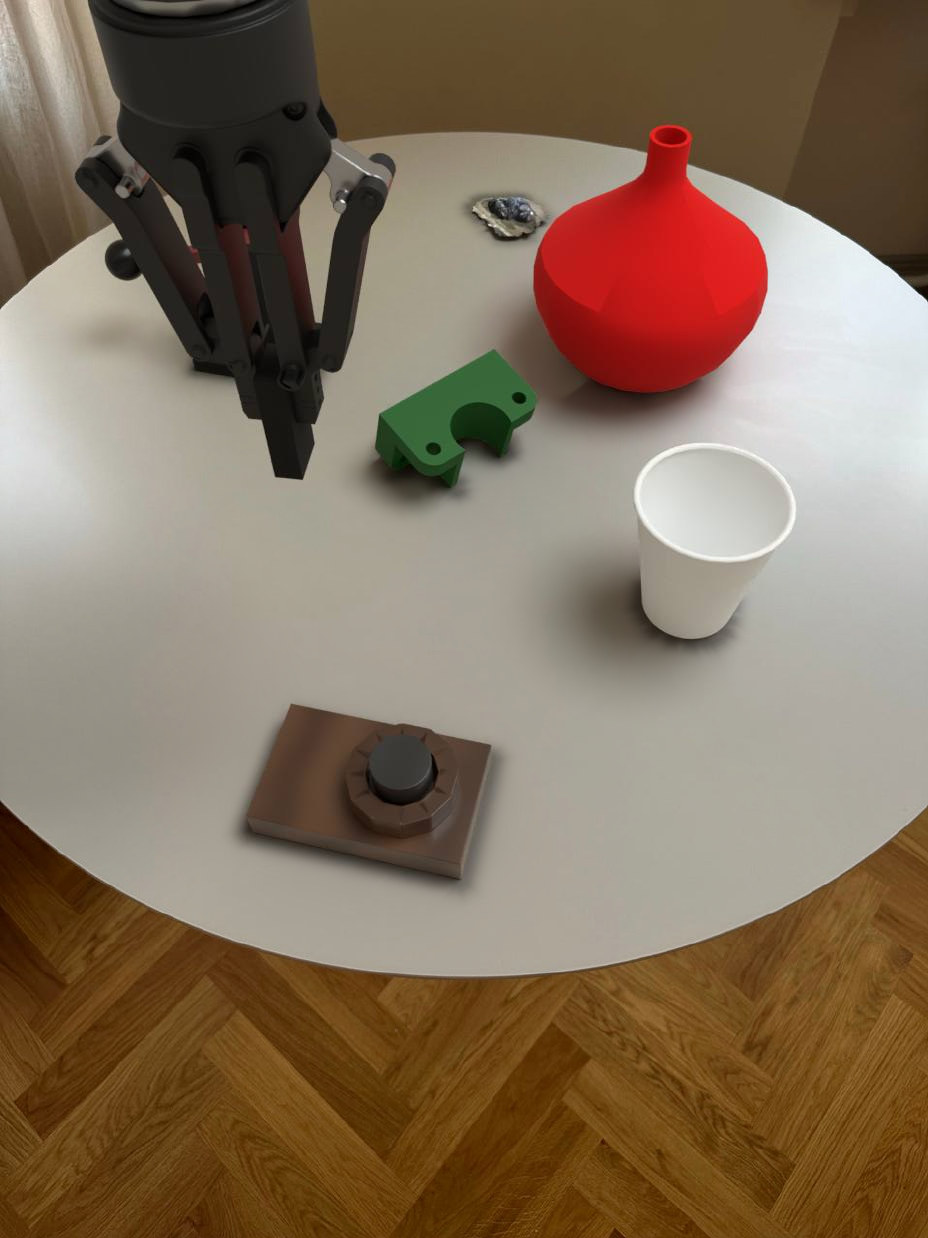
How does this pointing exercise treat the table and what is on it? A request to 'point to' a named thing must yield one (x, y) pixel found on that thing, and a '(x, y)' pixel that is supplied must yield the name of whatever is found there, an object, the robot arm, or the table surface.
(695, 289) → the vase
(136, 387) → the table surface
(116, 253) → the ball knob lever
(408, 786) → the button
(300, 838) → the button block
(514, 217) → the grey flat irregular piece
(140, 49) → the robot arm
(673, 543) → the cup
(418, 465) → the clamp
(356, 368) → the table surface
